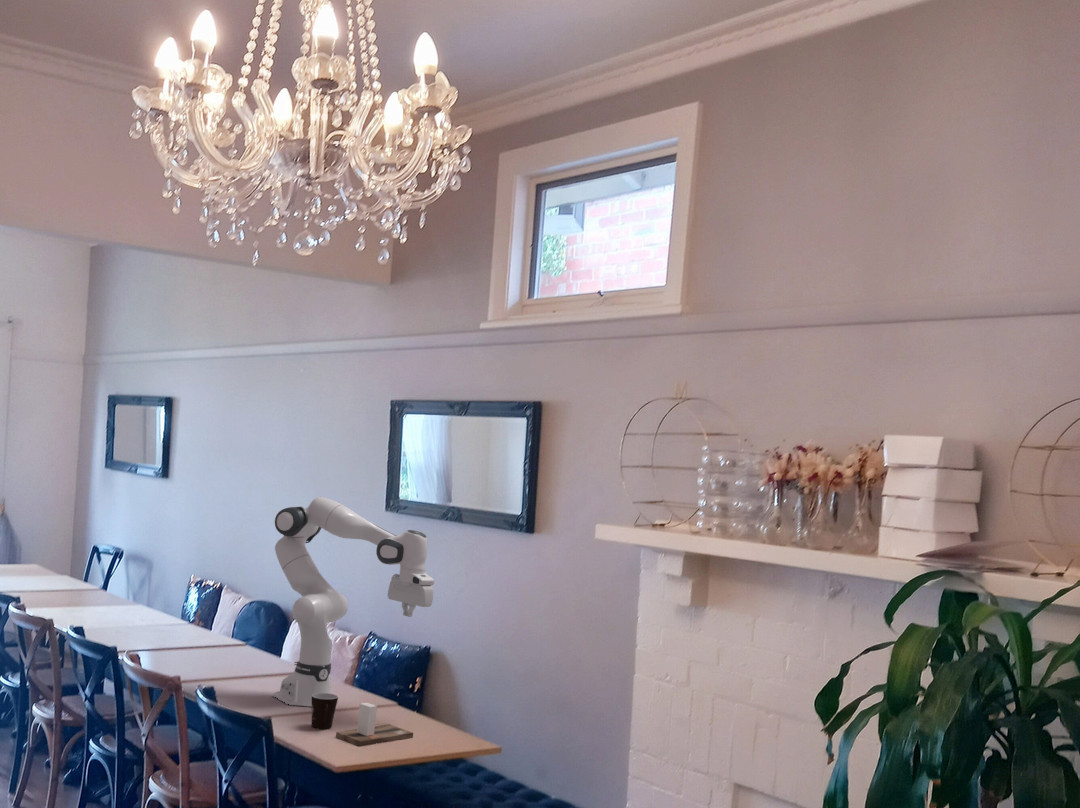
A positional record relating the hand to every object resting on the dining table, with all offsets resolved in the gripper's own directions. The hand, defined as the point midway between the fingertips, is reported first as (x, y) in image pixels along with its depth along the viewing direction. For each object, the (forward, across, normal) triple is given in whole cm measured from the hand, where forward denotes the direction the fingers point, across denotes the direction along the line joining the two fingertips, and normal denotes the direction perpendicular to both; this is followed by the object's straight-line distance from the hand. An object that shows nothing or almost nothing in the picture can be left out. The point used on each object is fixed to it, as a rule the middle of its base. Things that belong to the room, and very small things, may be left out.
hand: (407, 616), depth 357 cm
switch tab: (+33, +17, -28) cm, 47 cm away
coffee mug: (+35, 0, -33) cm, 48 cm away
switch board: (+35, +17, -24) cm, 46 cm away
